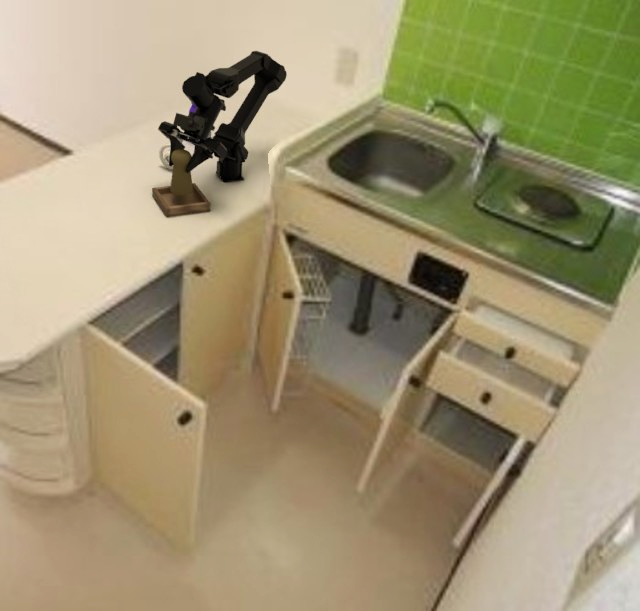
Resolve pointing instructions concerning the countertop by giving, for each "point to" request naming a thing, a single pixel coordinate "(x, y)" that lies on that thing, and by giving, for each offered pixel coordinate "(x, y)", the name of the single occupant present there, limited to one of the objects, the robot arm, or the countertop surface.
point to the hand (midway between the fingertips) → (178, 169)
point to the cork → (181, 173)
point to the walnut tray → (180, 201)
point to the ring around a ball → (165, 156)
